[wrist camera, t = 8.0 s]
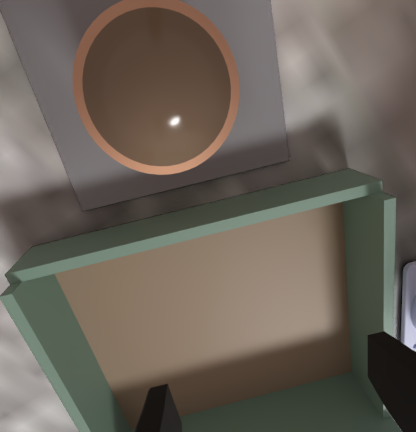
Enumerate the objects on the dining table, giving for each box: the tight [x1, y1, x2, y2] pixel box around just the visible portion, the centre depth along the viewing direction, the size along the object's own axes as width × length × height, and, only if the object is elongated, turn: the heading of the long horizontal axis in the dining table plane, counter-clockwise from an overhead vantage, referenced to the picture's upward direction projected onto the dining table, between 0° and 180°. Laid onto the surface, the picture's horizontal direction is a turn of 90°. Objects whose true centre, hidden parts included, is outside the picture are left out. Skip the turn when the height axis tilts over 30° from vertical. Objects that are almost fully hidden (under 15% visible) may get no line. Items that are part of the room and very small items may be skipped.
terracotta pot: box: [72, 0, 240, 175], centre depth 12 cm, size 5×5×6 cm
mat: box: [0, 0, 289, 211], centre depth 15 cm, size 12×10×1 cm
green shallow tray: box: [0, 168, 402, 432], centre depth 18 cm, size 19×17×5 cm
